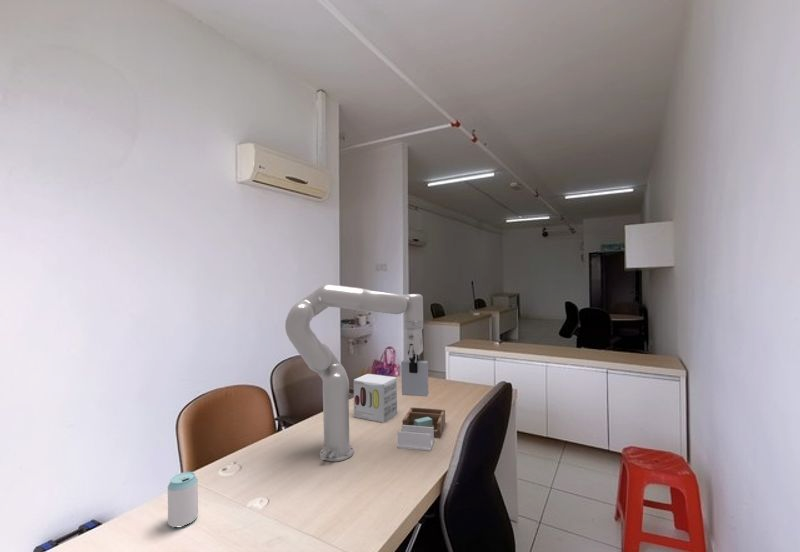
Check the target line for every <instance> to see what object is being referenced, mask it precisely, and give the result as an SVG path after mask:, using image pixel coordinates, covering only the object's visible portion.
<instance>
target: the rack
mask: <svg viewBox="0 0 800 552" xmlns="http://www.w3.org/2000/svg"><path fill="white" fill-rule="evenodd" d="M424 417H429V418H431V419H432V423H433V425H434V439H441V437H442V433H443V431H444V428H445V426H446V410H445V409H441V408H429V407H428V408H426V407H410V409H409V410H408V411H407V413H406V414H405V415H404V417H403V419H402V420H401V421H402V425H410V426H413V425H414V420H416V419H420V418H424Z"/></svg>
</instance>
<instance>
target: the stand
mask: <svg viewBox="0 0 800 552" xmlns="http://www.w3.org/2000/svg"><path fill="white" fill-rule="evenodd" d="M434 431H435V429H434V427H422V426H410V425H403V424H402V425H401V430H400V431H397V445H396V446H397V447H396V448H397V449H404V450H415V451H422V452H423V451H424V452H426V451H427V452H432V448H433V445H434V443H435V438H434Z"/></svg>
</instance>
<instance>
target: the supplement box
mask: <svg viewBox="0 0 800 552" xmlns="http://www.w3.org/2000/svg"><path fill="white" fill-rule="evenodd" d="M397 379H398V378H397V376H391V375H390V376H389V375H382V374H375V373H374V374H373V373H366V374H364V375H362V376H359V377H357V378H355V379H353V418H358V419H363V420H368V421H372V422H376V423H382V424H385V423H387V422H388V421H389V420H390V419H393V418H394V417H396V416H397V415H398V387H397V385H398V384H397Z"/></svg>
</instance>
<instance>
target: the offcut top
mask: <svg viewBox="0 0 800 552" xmlns="http://www.w3.org/2000/svg"><path fill="white" fill-rule="evenodd" d="M414 426H422V427H432V426H433V423H432V419H431V418H429V417H424V418H420V419H416V420H414Z"/></svg>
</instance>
